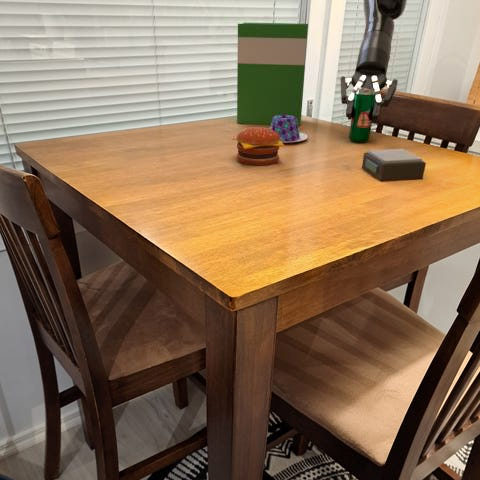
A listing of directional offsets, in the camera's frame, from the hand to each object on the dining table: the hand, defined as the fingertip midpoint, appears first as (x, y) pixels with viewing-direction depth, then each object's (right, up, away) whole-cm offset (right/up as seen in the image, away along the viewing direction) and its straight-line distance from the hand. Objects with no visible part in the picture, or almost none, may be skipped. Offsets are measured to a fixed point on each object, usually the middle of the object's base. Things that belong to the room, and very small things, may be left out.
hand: (361, 118), depth 119 cm
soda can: (0, -4, +5) cm, 6 cm away
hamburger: (-25, -14, -10) cm, 31 cm away
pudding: (-18, -3, +5) cm, 19 cm away
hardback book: (-21, +8, +22) cm, 32 cm away
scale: (+2, -19, -18) cm, 26 cm away
